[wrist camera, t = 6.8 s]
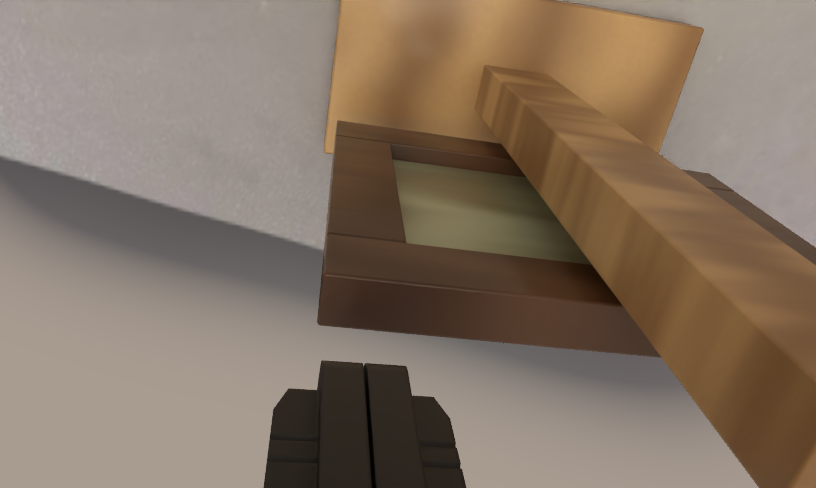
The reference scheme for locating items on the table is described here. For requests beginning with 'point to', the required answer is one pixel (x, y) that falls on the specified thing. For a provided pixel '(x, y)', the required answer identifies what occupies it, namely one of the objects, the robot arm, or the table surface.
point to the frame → (468, 247)
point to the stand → (609, 189)
